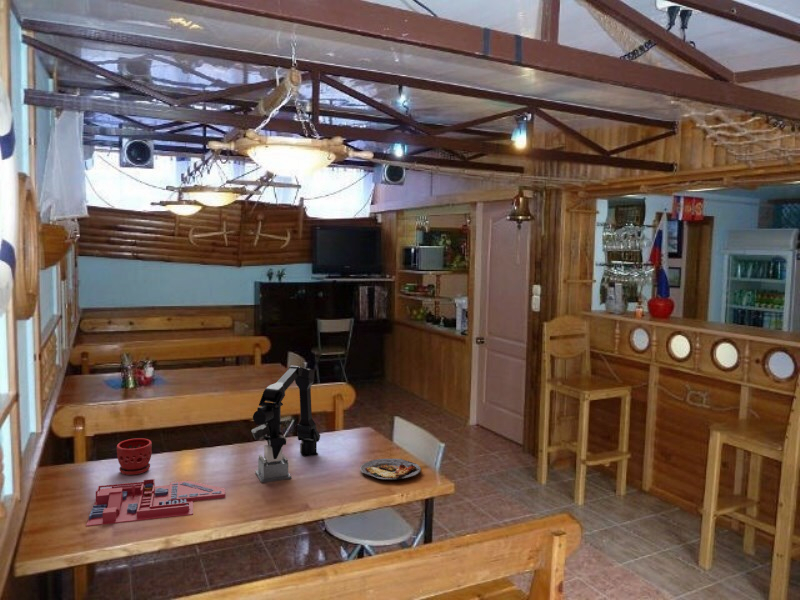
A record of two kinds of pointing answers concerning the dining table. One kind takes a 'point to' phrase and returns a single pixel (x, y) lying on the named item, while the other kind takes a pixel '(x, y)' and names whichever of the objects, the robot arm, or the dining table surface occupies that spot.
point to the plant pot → (134, 456)
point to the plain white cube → (271, 454)
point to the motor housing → (272, 470)
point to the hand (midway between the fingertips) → (273, 456)
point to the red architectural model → (148, 501)
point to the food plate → (390, 469)
